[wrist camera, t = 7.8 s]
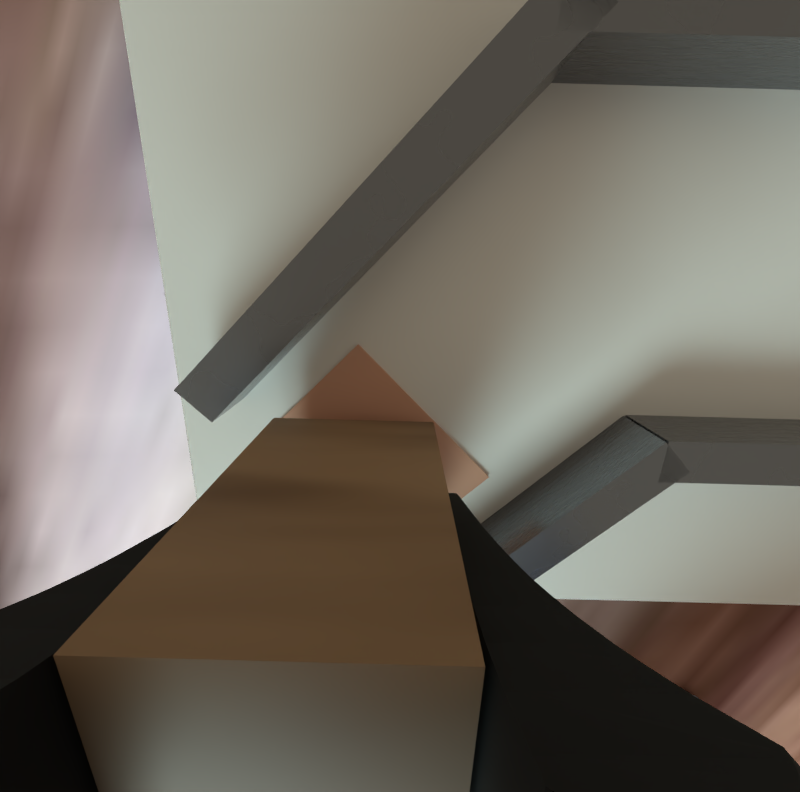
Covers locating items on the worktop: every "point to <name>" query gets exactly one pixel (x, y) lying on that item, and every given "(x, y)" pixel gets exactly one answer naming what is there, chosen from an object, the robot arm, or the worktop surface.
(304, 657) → the walnut block
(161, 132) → the channel board
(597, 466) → the rails
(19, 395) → the worktop surface
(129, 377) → the worktop surface
